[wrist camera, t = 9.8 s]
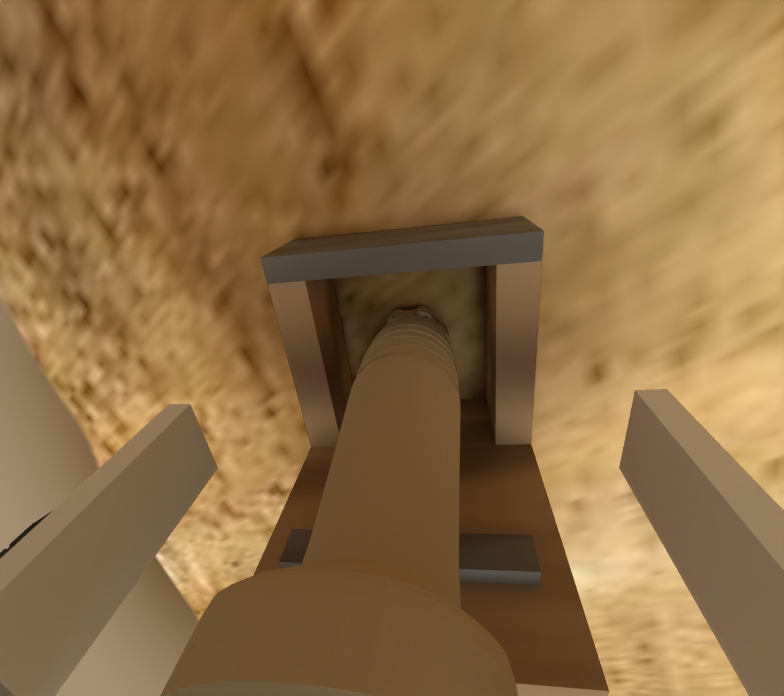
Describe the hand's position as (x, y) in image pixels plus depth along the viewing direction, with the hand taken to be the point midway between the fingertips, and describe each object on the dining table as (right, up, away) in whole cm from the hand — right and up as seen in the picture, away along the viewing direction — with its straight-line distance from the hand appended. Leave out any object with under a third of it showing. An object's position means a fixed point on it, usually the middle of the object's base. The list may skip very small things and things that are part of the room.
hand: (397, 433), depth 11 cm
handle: (+1, +3, +7) cm, 8 cm away
